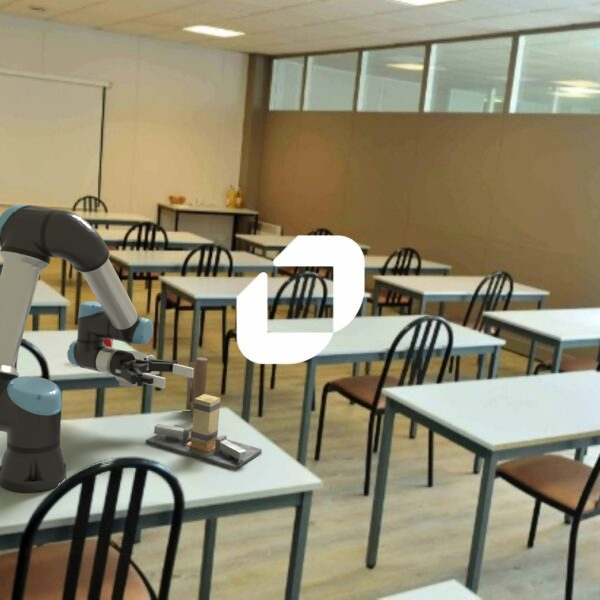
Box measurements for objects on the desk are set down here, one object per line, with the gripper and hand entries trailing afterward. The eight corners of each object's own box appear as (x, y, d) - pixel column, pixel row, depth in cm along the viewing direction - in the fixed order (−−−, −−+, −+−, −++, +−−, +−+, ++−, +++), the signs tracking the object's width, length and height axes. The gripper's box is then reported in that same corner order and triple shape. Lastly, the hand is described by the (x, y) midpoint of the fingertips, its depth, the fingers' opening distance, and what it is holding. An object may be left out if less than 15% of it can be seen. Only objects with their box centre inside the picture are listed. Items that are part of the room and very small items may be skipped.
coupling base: (144, 442, 201) (145, 427, 201) (174, 427, 214) (175, 413, 213) (236, 470, 190) (238, 454, 189) (262, 453, 202) (263, 437, 202)
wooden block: (197, 405, 234) (201, 350, 230) (205, 417, 224) (209, 360, 221) (186, 405, 233) (190, 350, 229) (193, 418, 223) (197, 360, 219)
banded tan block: (191, 444, 200) (194, 398, 198) (201, 438, 205) (204, 393, 202) (206, 449, 198) (210, 402, 196) (216, 443, 203) (220, 397, 200)
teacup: (159, 388, 246) (161, 359, 244) (115, 392, 239) (116, 362, 237) (148, 377, 256) (149, 349, 254) (105, 380, 249) (106, 351, 247)
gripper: (142, 366, 223) (202, 381, 215) (86, 384, 201) (150, 401, 192) (144, 342, 222) (204, 356, 214) (87, 357, 200) (152, 373, 191)
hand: (179, 378), depth 203 cm, fingers open, 13 cm apart
